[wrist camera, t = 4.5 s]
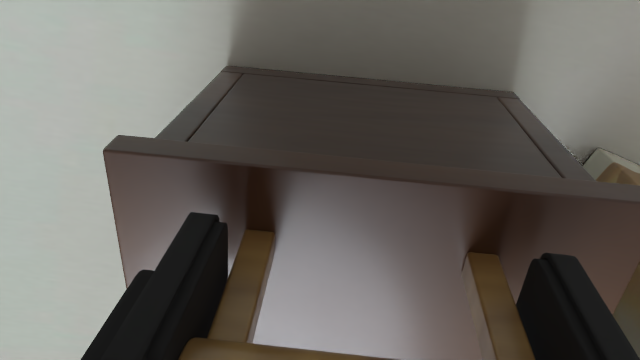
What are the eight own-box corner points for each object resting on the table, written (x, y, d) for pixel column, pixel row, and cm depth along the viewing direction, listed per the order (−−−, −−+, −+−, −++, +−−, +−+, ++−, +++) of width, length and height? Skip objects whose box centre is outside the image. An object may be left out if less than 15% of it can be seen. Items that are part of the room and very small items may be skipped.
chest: (226, 65, 21) (140, 150, 13) (514, 91, 20) (613, 196, 12) (229, 347, 28) (176, 515, 20) (442, 371, 27) (475, 551, 19)
